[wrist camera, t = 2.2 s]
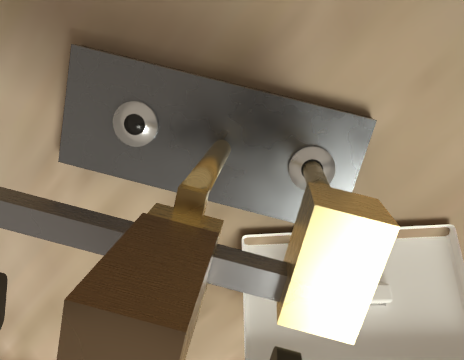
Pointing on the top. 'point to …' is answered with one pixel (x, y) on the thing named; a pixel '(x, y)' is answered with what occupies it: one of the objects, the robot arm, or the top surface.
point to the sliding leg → (149, 279)
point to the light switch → (379, 308)
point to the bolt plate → (203, 132)
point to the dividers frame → (256, 266)
